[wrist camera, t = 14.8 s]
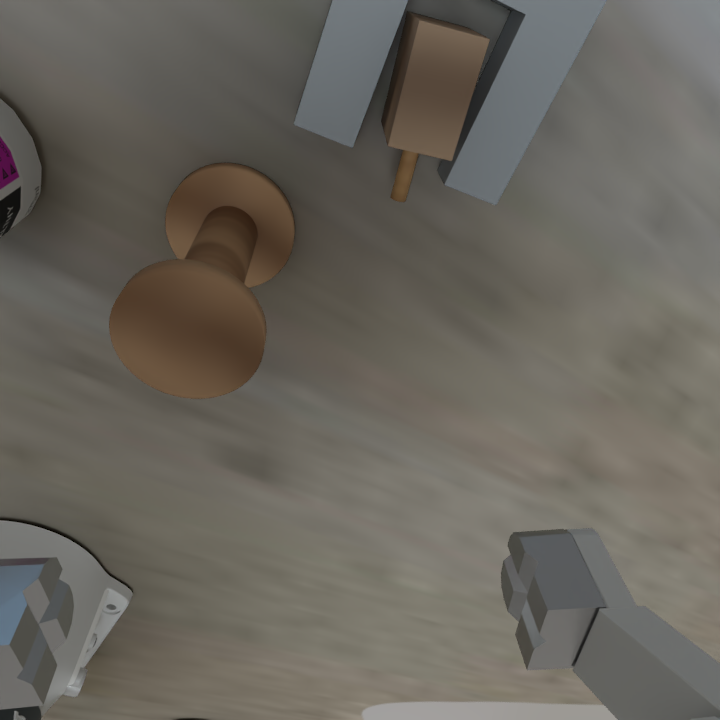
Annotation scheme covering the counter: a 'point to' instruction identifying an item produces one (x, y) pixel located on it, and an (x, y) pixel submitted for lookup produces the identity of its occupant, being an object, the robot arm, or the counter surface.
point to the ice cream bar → (430, 92)
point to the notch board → (490, 98)
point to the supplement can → (16, 170)
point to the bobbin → (206, 285)
